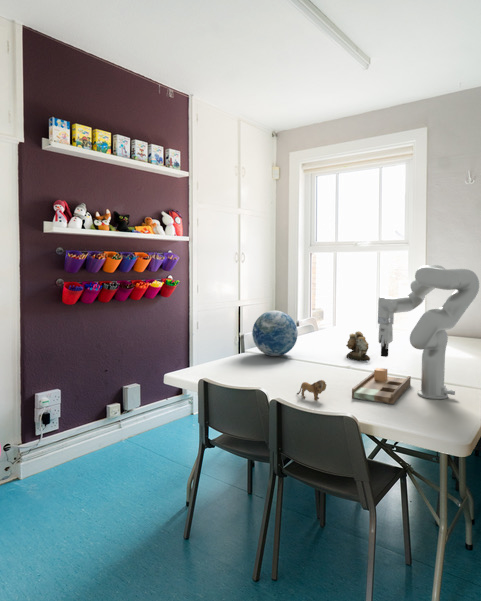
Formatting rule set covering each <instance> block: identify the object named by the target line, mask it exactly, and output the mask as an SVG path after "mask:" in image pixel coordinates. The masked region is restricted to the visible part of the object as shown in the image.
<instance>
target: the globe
mask: <svg viewBox="0 0 481 601" xmlns="http://www.w3.org/2000/svg"><path fill="white" fill-rule="evenodd" d="M298 334H299V332H298V328H297V324H296V322H295V320H294V319H293V318H292V316H290V315H289V314H288V313H287V312H283V311H280V310H268V311H266V312H264V313H262V314H261V315H259V317H258V318H257V319H256V320H255V322H254V324H253V326H252V331H251V335H252V340H253V343H254V344H255V346H256V347H257V349H258V350H259V351H260V352H261V353H263V354H264V355H267V356H271V357H280V356H283V355H286V354H287V353H289V352H290V351H291V350H292V349H293V348H294V347H295V345H296V343H297V339H298Z"/></svg>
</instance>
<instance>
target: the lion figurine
mask: <svg viewBox="0 0 481 601" xmlns="http://www.w3.org/2000/svg"><path fill="white" fill-rule="evenodd" d="M326 389H327V382H326V381H325V380H324V379H320V380H318V381H316V382H313V383H312V384H311V383H308V382H307V381H303V382H302V383H301V385H300V389H299V391H298V392H297V393H296V395H298V396H299V394H301V396H302V398H303V399H305V398H306V396H305V392H306V391H307V392H309V393H311V394H313V399H314V401H315V402H316V401H318V400H319V399H320V397H319V395H320V394H322V393H323V392H324V391H325V390H326Z"/></svg>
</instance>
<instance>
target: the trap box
mask: <svg viewBox="0 0 481 601" xmlns="http://www.w3.org/2000/svg"><path fill="white" fill-rule="evenodd" d="M409 387H411V375H410V376H409V375H408V376H407V377H406V378H403V377H401V378H400V377H394V376H387V380H386V381H378V380H374V371H373V372H372V373H370V374H369V375H367V377H365V378H364V379H363V380H361V381H360V382H359V383H357V384H355V386H354V387H352V388H351V399H354V400H360V401H365V402H371V403H379V404H384V405H390V406H392V405H393V406H394V405H395V404H396V403H397V401H398V400H399V399H400V398H401V397H402V396H403V395H404V393H405V392H407V391H408V389H409Z"/></svg>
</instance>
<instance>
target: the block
mask: <svg viewBox="0 0 481 601" xmlns="http://www.w3.org/2000/svg"><path fill="white" fill-rule="evenodd" d="M373 372H374V380H378V381H386V380H387V377H388V368H383V367H376V368H375V369H374V371H373Z"/></svg>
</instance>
